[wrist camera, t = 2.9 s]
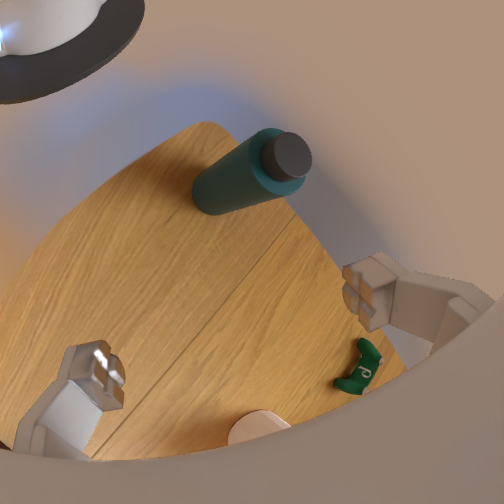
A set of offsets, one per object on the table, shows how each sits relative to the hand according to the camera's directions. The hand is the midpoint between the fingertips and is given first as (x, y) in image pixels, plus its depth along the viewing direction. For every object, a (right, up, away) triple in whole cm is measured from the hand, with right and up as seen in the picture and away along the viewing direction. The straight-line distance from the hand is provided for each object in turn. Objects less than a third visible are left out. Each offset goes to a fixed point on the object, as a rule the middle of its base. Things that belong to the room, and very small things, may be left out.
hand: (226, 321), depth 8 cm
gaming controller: (+18, -17, +32) cm, 41 cm away
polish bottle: (-3, +9, +20) cm, 22 cm away
